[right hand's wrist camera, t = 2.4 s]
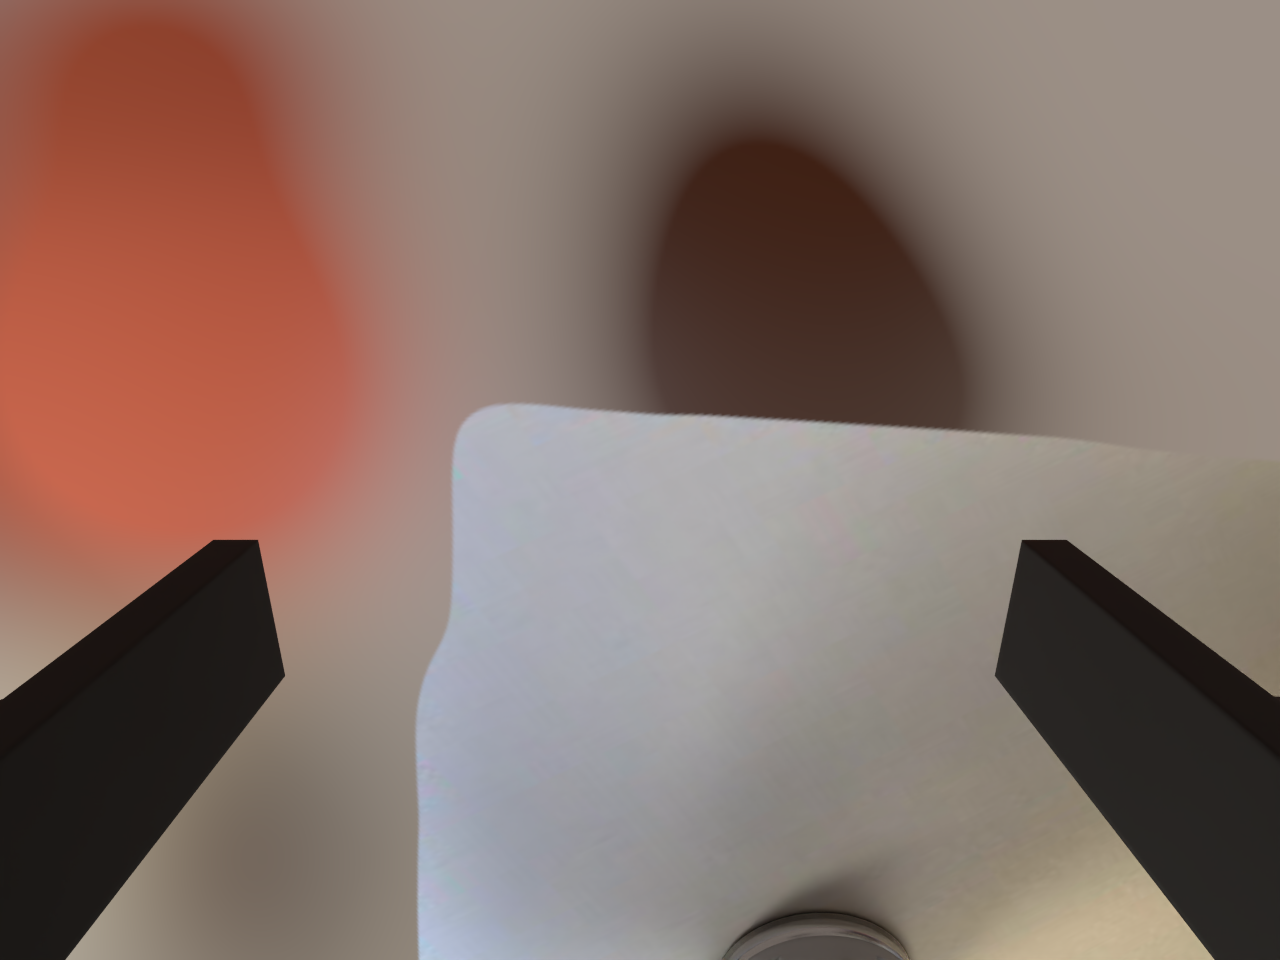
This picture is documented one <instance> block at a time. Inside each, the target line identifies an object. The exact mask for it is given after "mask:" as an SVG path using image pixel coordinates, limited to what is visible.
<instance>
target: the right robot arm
mask: <svg viewBox="0 0 1280 960" xmlns="http://www.w3.org/2000/svg"><path fill="white" fill-rule="evenodd" d="M284 677H285V673H284V668H283V663H282V658H281V653H280V648H279V643H278V638H277V633H276V628H275V623H274V618H273V613H272V608H271V603H270V598H269V593H268V588H267V583H266V578H265V573H264V568H263V563H262V558H261V553H260V548H259V543H258V540H213V541H211V542H210V543H209V544H207V545H206V546H205V547H203V548H202V549H201V550H200V551H198V552H197V553H195V554H194V555H193V556H192V557H190V558H189V559H188V560H186V561H185V562H184V563H182V564H181V565H180V566H178V567H177V568H176V569H174V570H173V571H172V572H170V573H169V574H168V575H166V576H165V577H164V578H162V579H161V580H160V581H158V582H157V583H156V584H155V585H153V586H152V587H151V588H149V589H148V590H147V591H145V592H144V593H143V594H141V595H140V596H139V597H137V598H136V599H135V600H133V601H132V602H131V603H129V604H128V605H127V606H125V607H124V608H123V609H121V610H120V611H119V612H117V613H116V614H115V615H114V616H112V617H111V618H110V619H108V620H107V621H106V622H104V623H103V624H102V625H100V626H99V627H98V628H96V629H95V630H94V631H92V632H91V633H90V634H89V635H87V636H86V637H84V638H83V639H82V640H81V641H79V642H78V643H77V644H75V645H74V646H73V647H71V648H70V649H69V650H67V651H66V652H65V653H63V654H62V655H61V656H59V657H58V658H57V659H55V660H54V661H53V662H51V663H50V664H49V665H47V666H46V667H45V668H44V669H42V670H41V671H39V672H38V673H37V674H36V675H34V676H33V677H32V678H30V679H29V680H28V681H26V682H25V683H24V684H22V685H21V686H20V687H18V688H17V689H16V690H14V691H13V692H12V693H10V694H9V695H8V696H7V697H5V698H4V699H1V700H0V960H65V959H66V958H67V957H68V956H69V954H70V953H71V952H72V950H73V949H74V948H75V947H76V945H77V944H78V943H79V941H80V940H81V939H82V937H83V936H84V935H85V934H86V932H87V931H88V930H89V928H90V927H91V926H92V925H93V923H94V922H95V921H96V919H97V918H98V917H99V916H100V914H101V913H102V912H103V910H104V909H105V908H106V906H107V905H108V904H109V903H110V901H111V900H112V899H113V897H114V896H115V895H116V894H117V892H118V891H119V890H120V888H121V887H122V886H123V885H124V883H125V882H126V881H127V879H128V878H129V877H130V875H131V874H132V873H133V872H134V870H135V869H136V868H137V866H138V865H139V864H140V863H141V861H142V860H143V859H144V857H145V856H146V855H147V854H148V852H149V851H150V850H151V848H152V847H153V846H154V844H155V843H156V842H157V841H158V839H159V838H160V837H161V835H162V834H163V833H164V832H165V830H166V829H167V828H168V826H169V825H170V824H171V823H172V821H173V820H174V819H175V817H176V816H177V815H178V813H179V812H180V811H181V810H182V808H183V807H184V806H185V804H186V803H187V802H188V801H189V799H190V798H191V797H192V795H193V794H194V793H195V792H196V790H197V789H198V788H199V786H200V785H201V784H202V782H203V781H204V780H205V779H206V777H207V776H208V775H209V773H210V772H211V771H212V769H213V768H214V767H215V766H216V764H217V763H218V762H219V761H220V759H221V758H222V757H223V755H224V754H225V753H226V751H227V750H228V749H229V748H230V746H231V745H232V744H233V742H234V741H235V740H236V738H237V737H238V736H239V735H240V733H241V732H242V731H243V729H244V728H245V727H246V726H247V724H248V723H249V722H250V720H251V719H252V718H253V717H254V715H255V714H256V713H257V711H258V710H259V709H260V707H261V706H262V705H263V704H264V702H265V701H266V700H267V698H268V697H269V696H270V695H271V693H272V692H273V691H274V689H275V688H276V687H277V686H278V684H279V683H280V682H281V680H282V679H283V678H284ZM995 677H996V678H997V679H998V680H999V682H1000V683H1001V684H1002V686H1003V687H1004V688H1005V689H1006V691H1007V692H1008V693H1009V695H1010V696H1011V697H1012V698H1013V700H1014V701H1015V702H1016V704H1017V705H1018V706H1019V708H1020V709H1021V710H1022V711H1023V713H1024V714H1025V715H1026V717H1027V718H1028V719H1029V720H1030V722H1031V723H1032V724H1033V726H1034V727H1035V728H1036V730H1037V731H1038V732H1039V733H1040V735H1041V736H1042V737H1043V739H1044V740H1045V741H1046V742H1047V744H1048V745H1049V746H1050V748H1051V749H1052V750H1053V751H1054V753H1055V754H1056V755H1057V757H1058V758H1059V759H1060V761H1061V762H1062V763H1063V764H1064V766H1065V767H1066V768H1067V770H1068V771H1069V772H1070V773H1071V775H1072V776H1073V777H1074V779H1075V780H1076V781H1077V782H1078V784H1079V785H1080V786H1081V788H1082V789H1083V790H1084V792H1085V793H1086V794H1087V795H1088V797H1089V798H1090V799H1091V801H1092V802H1093V803H1094V804H1095V806H1096V807H1097V808H1098V810H1099V811H1100V812H1101V813H1102V815H1103V816H1104V817H1105V819H1106V820H1107V821H1108V823H1109V824H1110V825H1111V826H1112V828H1113V829H1114V830H1115V832H1116V833H1117V834H1118V835H1119V837H1120V838H1121V839H1122V841H1123V842H1124V843H1125V844H1126V846H1127V847H1128V848H1129V850H1130V851H1131V852H1132V854H1133V855H1134V856H1135V857H1136V859H1137V860H1138V861H1139V863H1140V864H1141V865H1142V866H1143V868H1144V869H1145V870H1146V872H1147V873H1148V874H1149V875H1150V877H1151V878H1152V879H1153V881H1154V882H1155V883H1156V885H1157V886H1158V887H1159V888H1160V890H1161V891H1162V892H1163V894H1164V895H1165V896H1166V897H1167V899H1168V900H1169V901H1170V903H1171V904H1172V905H1173V906H1174V908H1175V909H1176V910H1177V912H1178V913H1179V914H1180V916H1181V917H1182V918H1183V919H1184V921H1185V922H1186V923H1187V925H1188V926H1189V927H1190V928H1191V930H1192V931H1193V932H1194V934H1195V935H1196V936H1197V938H1198V939H1199V940H1200V941H1201V943H1202V944H1203V945H1204V947H1205V948H1206V949H1207V950H1208V952H1209V953H1210V954H1211V956H1212V957H1213V958H1214V959H1215V960H1280V697H1274V696H1272V695H1271V694H1270V693H1268V692H1267V691H1266V690H1264V689H1263V688H1262V687H1260V686H1259V685H1258V684H1256V683H1255V682H1254V681H1252V680H1251V679H1250V678H1248V677H1247V676H1246V675H1244V674H1243V673H1242V672H1241V671H1239V670H1238V669H1237V668H1235V667H1234V666H1233V665H1231V664H1230V663H1229V662H1227V661H1226V660H1225V659H1223V658H1222V657H1221V656H1219V655H1218V654H1217V653H1215V652H1214V651H1213V650H1211V649H1210V648H1209V647H1207V646H1206V645H1205V644H1203V643H1202V642H1201V641H1200V640H1198V639H1197V638H1196V637H1194V636H1193V635H1192V634H1190V633H1189V632H1188V631H1186V630H1185V629H1184V628H1182V627H1181V626H1180V625H1178V624H1177V623H1176V622H1174V621H1173V620H1172V619H1170V618H1169V617H1168V616H1166V615H1165V614H1164V613H1163V612H1161V611H1160V610H1159V609H1157V608H1156V607H1155V606H1153V605H1152V604H1151V603H1149V602H1148V601H1147V600H1145V599H1144V598H1143V597H1141V596H1140V595H1139V594H1137V593H1136V592H1135V591H1133V590H1132V589H1131V588H1129V587H1128V586H1127V585H1125V584H1124V583H1123V582H1122V581H1120V580H1119V579H1118V578H1116V577H1115V576H1114V575H1112V574H1111V573H1110V572H1108V571H1107V570H1106V569H1104V568H1103V567H1102V566H1100V565H1099V564H1098V563H1096V562H1095V561H1094V560H1092V559H1091V558H1090V557H1088V556H1087V555H1086V554H1085V553H1083V552H1082V551H1081V550H1079V549H1078V548H1077V547H1075V546H1074V545H1073V544H1071V543H1070V542H1069V541H1067V540H1022V543H1021V548H1020V553H1019V558H1018V563H1017V568H1016V573H1015V578H1014V583H1013V588H1012V593H1011V598H1010V603H1009V608H1008V613H1007V618H1006V623H1005V628H1004V633H1003V638H1002V643H1001V648H1000V653H999V658H998V663H997V668H996V673H995ZM722 960H909V957H908V955H907V953H906V951H905V950H904V948H903V947H902V945H901V944H900V943H899V942H898V941H897V940H896V939H895V938H894V937H893V936H892V935H891V934H889V933H888V932H887V931H885V930H884V929H882V928H881V927H879V926H877V925H875V924H873V923H871V922H869V921H866V920H863V919H860V918H857V917H853V916H849V915H843V914H835V913H807V914H799V915H794V916H789V917H785V918H781V919H778V920H775V921H772V922H770V923H767V924H765V925H763V926H761V927H759V928H757V929H755V930H753V931H752V932H750V933H748V934H747V935H745V936H744V937H743V938H741V939H740V940H739V941H738V942H737V943H736V944H734V945H733V946H732V948H731V949H730V950H729V951H728V952H727V953H726V955H725V956H724V958H723V959H722Z"/></svg>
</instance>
